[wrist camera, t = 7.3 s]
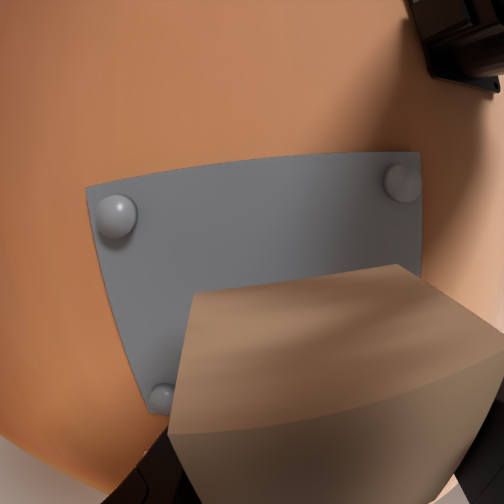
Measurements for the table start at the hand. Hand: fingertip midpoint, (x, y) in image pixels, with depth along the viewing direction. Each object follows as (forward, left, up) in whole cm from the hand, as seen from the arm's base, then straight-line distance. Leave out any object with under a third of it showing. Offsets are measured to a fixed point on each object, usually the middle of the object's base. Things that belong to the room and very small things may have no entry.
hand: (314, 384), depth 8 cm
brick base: (0, 0, -1) cm, 1 cm away
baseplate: (0, 0, -7) cm, 7 cm away
